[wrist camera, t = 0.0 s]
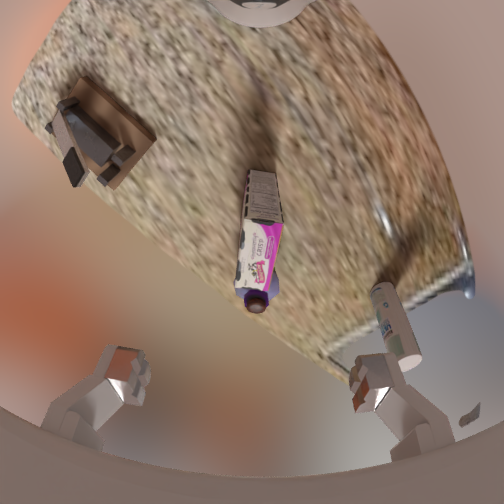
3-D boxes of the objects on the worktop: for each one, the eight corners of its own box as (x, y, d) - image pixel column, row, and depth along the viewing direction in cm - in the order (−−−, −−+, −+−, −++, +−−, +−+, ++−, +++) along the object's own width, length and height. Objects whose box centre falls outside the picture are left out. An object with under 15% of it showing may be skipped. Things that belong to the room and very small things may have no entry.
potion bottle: (285, 251, 55) (289, 296, 46) (271, 283, 60) (272, 328, 51) (241, 240, 54) (237, 285, 45) (231, 273, 59) (225, 318, 50)
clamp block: (60, 121, 37) (43, 129, 33) (74, 96, 35) (57, 102, 31) (118, 174, 44) (105, 186, 40) (136, 151, 42) (123, 162, 38)
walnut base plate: (55, 127, 40) (49, 130, 38) (86, 76, 35) (80, 77, 33) (118, 185, 47) (113, 190, 46) (157, 139, 42) (152, 142, 41)
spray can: (373, 281, 59) (399, 356, 44) (398, 280, 59) (428, 352, 43) (365, 301, 63) (387, 374, 47) (389, 300, 63) (414, 370, 47)
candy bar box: (267, 228, 52) (269, 293, 39) (240, 225, 52) (232, 289, 39) (278, 171, 46) (285, 224, 32) (247, 167, 45) (241, 218, 32)
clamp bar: (55, 123, 34) (48, 123, 33) (63, 109, 33) (56, 109, 32) (80, 186, 34) (73, 187, 33) (89, 172, 33) (81, 172, 31)
